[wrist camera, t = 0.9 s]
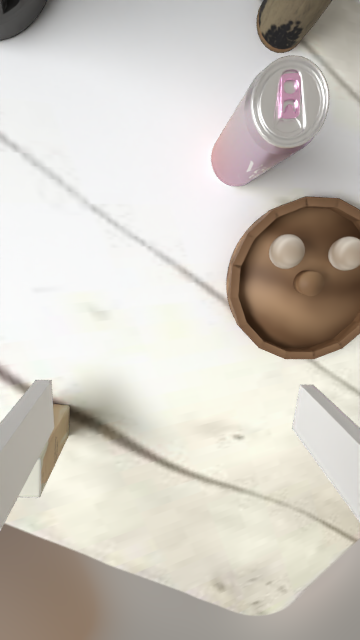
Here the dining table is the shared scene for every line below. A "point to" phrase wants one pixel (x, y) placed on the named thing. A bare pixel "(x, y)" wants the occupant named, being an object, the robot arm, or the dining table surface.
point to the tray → (275, 284)
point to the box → (48, 453)
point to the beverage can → (272, 120)
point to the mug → (287, 21)
